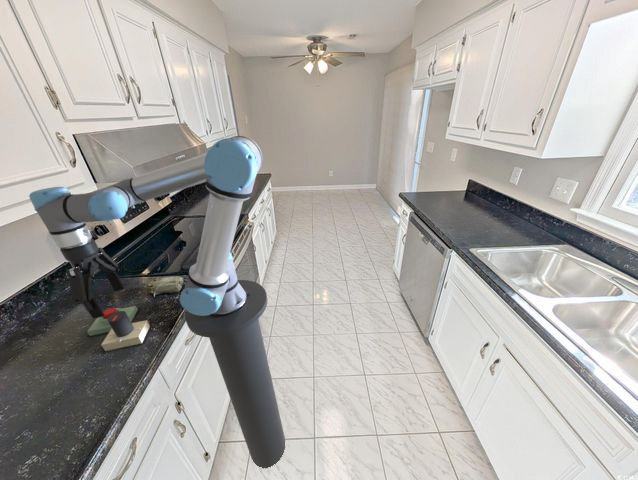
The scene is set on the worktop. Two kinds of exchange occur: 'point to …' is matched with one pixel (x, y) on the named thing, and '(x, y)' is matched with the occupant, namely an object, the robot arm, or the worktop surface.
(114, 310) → the switch button
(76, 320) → the worktop surface
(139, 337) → the dial panel
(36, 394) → the worktop surface
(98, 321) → the switch base
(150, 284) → the mushroom
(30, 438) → the worktop surface
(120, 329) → the dial
